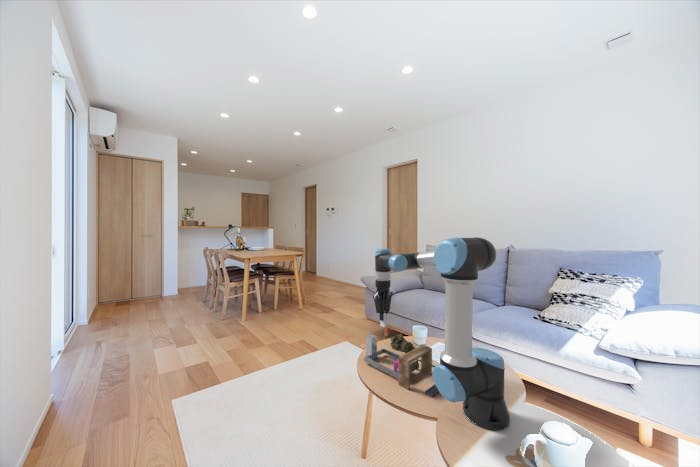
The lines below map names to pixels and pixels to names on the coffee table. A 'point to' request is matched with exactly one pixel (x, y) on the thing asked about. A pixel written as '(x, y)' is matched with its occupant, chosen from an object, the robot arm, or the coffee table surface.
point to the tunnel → (410, 357)
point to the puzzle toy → (396, 366)
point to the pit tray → (432, 391)
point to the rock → (401, 343)
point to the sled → (373, 353)
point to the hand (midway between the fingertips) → (383, 326)
